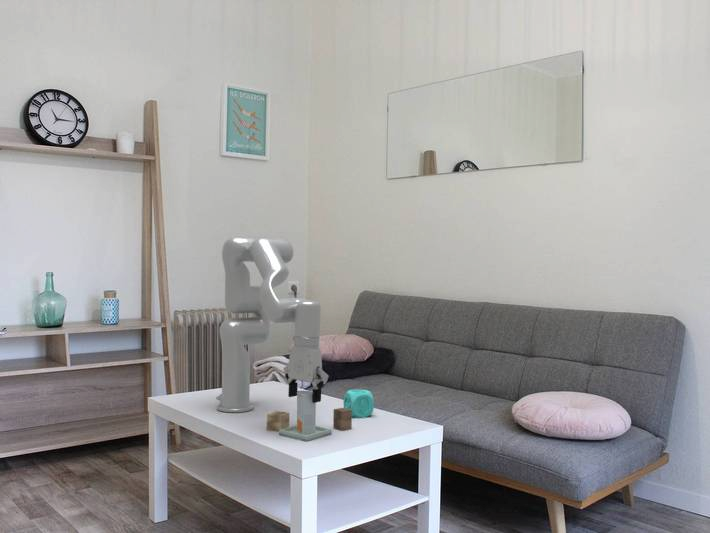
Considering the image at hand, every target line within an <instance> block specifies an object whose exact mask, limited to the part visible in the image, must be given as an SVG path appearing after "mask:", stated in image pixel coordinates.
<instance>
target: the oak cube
mask: <svg viewBox="0 0 710 533" xmlns="http://www.w3.org/2000/svg"><path fill="white" fill-rule="evenodd" d="M288 427H290V412H287V411H279V410H275V411H274V410H273V411H271V412H269V413H267V414H266V431H269V432H277V433H279V430H280V429H284V428H288Z"/></svg>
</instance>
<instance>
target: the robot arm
mask: <svg viewBox="0 0 710 533" xmlns="http://www.w3.org/2000/svg"><path fill="white" fill-rule="evenodd" d="M293 257H294V248H293V245H292V243H291V242H290V241H289V240H288V239H286V238H283V237H266V236H265V237H261V236H260V237H256V236H233V237H229V238H228V239H226V241H225V242H224V244H223V246H222V251H221V258H222V264H223V268H224V274H225V278H224V280H225V281H224V306H225V309H226V311H227V312H228V313H230V314H240V315H241V314H251V316H248V317H245V316H244V317H243V316H241V317H239V316H238V317H230V318H227V319H225V320H223V322H221V325H220V326H219V336H220V341H221V344H220V345H221V353H222V354H221V355H222V357H221V358H222V359H221V361H222V362H221V363H222V364H221V365H222V366H221V368H222V369H221V393H219V395H216V397H215V399H216V400H217V401H219V404H217V405H216V410H218V411H220V412H222V413H224V412H225V413H244V412H250V411H252V410H254V408H255V405H254V404H253V403H251V402H250V393H251V392H250V388H251V387H250V386H251V384H250V383H251V382H250V381H251V380H250V379H251V372H250V371H251V356H250V354H249V352H248V350H247V349H246V348H245V346H246V345H259V344H263V343H265V342H266V341H267V340H268V339H269V337H270V329H271V328H270V326H271V322H273V323H275V324H282V323H283V324H285V323H294V328H293V329H294V330H293V332H294V334H293V335H294V336H292V341H293V345H291V348H290V351H289V359H288V364H287V365H285V366H284V367H283V372H284V374H285V375H284V377H285V379H286V380H287V381H286V382H287V383H286V384H288V394H287V395H288V397H289V398H293V397H296V396H297V391H298V382H297V381H299V382H305V383H311V385H312V386H313V389H312V392H313V393H312V402H313V403H316V404H317V403H320V402H321V401H322V389H323V388H324V386H326V384H327V382H328V379H329V374H327V372H325V371H324V370H323V362H322V351H321V347H320V332H321V331H320V328H321V304H320V302H318V301H315V300H309V299H307V298H304V297H277V295H276V294H275V292H274V288H276V287H278V286H280V285H281V284H283V283H285V281H286V280H287V279H288V277H289V275H290V274H289V273H290V272H289V271H290V270H289V269H288V267H287V265H286V264H288V263H290V262H291V261H292V259H293ZM245 262H249V263H250V262H251V263H255V266H256V269H258V271H259V273H260V276H261V278H262V280H263V281H262V282H261V285H260V286H259V285H252V286H251V273H250V270H249V268H248V267H247V265H246V264H245Z"/></svg>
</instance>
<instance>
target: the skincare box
mask: <svg viewBox="0 0 710 533" xmlns="http://www.w3.org/2000/svg"><path fill="white" fill-rule="evenodd" d="M312 393H313V390H309V389H308V390H297V399H296V401H297V403H296V405H297V406H296V425H297V431H299V432H300V433H301V434H302V435H310V434H313V433H315V428H316V426H317V425H316V418H317V417H316V412H317V410H316V409H317V408H316V406H317V402H316V403H313V402H312Z"/></svg>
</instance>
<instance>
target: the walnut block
mask: <svg viewBox="0 0 710 533" xmlns="http://www.w3.org/2000/svg"><path fill="white" fill-rule="evenodd" d="M332 419H333V421H332V422H333V424H332V425H333V426H332V428H333V429H334V430H337V431H340V432H344V431H349V429H350V430H352V428H353V426H352V422H353V417H352V410H351V409H347V408H344V407H338V408H333V418H332Z"/></svg>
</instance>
